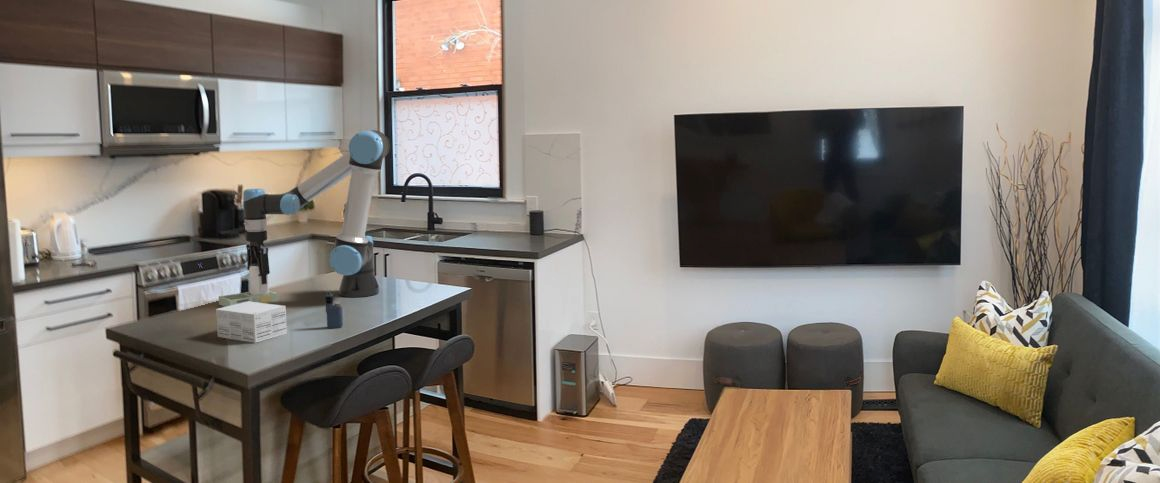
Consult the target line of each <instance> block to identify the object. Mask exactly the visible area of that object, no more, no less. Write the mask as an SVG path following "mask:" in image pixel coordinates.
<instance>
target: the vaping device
mask: <svg viewBox="0 0 1160 483" xmlns="http://www.w3.org/2000/svg"><path fill="white" fill-rule="evenodd" d="M324 295H325V297H324V298H325V313H326V328H327V329H342V328H343V324H344V323H343V307H342V305H341V302H334V295H333V293H331V291H327V294H324Z"/></svg>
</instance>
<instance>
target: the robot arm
mask: <svg viewBox="0 0 1160 483" xmlns="http://www.w3.org/2000/svg"><path fill="white" fill-rule="evenodd" d="M389 151H390V141H389V138H388V137H387V136H386V135H385V134H384V133H383V132H381V131H380V130H376V129H373V130H372V129H371V130H365V129H364V130H361V131H359V132H357V133H356V134H354V135H353V136H352V137H351V139H350V140H349V144H348V152H346V153H344V154H343V155H342V156H340V157H339V158H337V159H336V160H334V161H333V162H330V164H328V165H327V166H324V168H322V169H321V170H319V171H318V172H316V173H315V174H313V175H312V176H310V177H308V178H307V179H305V180H304V181H302V182H301V183H300V184H299V185H297V186H295V187H294V188H291V190H288V191H286V192H284V193H278V194H276V193H275V194H272V193H271V194H267V193H266V191H265V189H264V188H248V189H244V190H243V194H242V196H243V197H242V203H243V214H244V222H243V225H244V229H245V233H244V234H245V235H244V237H245V241H246V242H247V243H248V242H249V244H246V245H245V247H246V260H247V261H246V264H247V266H246V267H247V269H246V270H247V271H249V268H250V265H251V264H257V263H258V267H259V272H260V274H259V275H258V276H259V289H260V293H265V292H268V289H267V275H268V276H269V274H270V273H271V272H270V262H269V261H270V260H269V247H265V245H264V242H266V241H267V240H268V231H267V228H268V225H267V222H268V221H267V216H266V215H285V216H290V215H296V214H298V212H299V210H301V209H303V208H304V207H305V205H307V204H309V203H310V202H311V201H313V200H314V199H316V198H317V197H319V196H320V195H322V194H323V193H324V192H327V191H328V190H329V189H331V188H332V187H334V186H336V185H337V184H339V183H340V182H342V181H343V180H344V179H346V178H349V176H350V180H349V186H348V192H347V197H346V203H345V209H344V214H343V221H342V226H341V232H340V233H338V234H337V235H336V237H335V241H334V248H333V249H332V250H331V252H330V254H329V264H330V266H331V268H332V270H333V271H334V272H336V273H337V274H339V275H341V276H342V279H341V282H340V285H339V289H338V290H339V296H342V297H348V298H362V297H363V298H364V297H365V298H366V297H370V296H375V295H378V294H379V293H380V287H379V286H380V285H379V283H378V281H377V277H376V275H375V269H374V268H375V267H374V266H375V265H374V264H375V263H374V241H373V240H374V239H373V237H372V235H366V231H367V226H368V220H369V213H370V209H371V202H372V196H373V192H374V188H375V187H374V185H375V182H376V181H375V180H376V175H377V173H379V172H381V170H382V166H383V160H384V159H385V157H386V156H388V154H389Z"/></svg>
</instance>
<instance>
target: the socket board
mask: <svg viewBox="0 0 1160 483" xmlns="http://www.w3.org/2000/svg"><path fill="white" fill-rule="evenodd" d="M247 301H251V302H258V303H266V304H271V303H275V302H279V293H278V292H275V291H271V290H269V294H266V295H259V296H252V295H251V294H250V291H246V292H239V293H233V294H226V295H219V296H218V305H220V306H221V307H227V306H231V305H235V304H239V303H243V302H247Z"/></svg>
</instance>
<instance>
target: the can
mask: <svg viewBox="0 0 1160 483" xmlns="http://www.w3.org/2000/svg"><path fill="white" fill-rule="evenodd" d="M259 274H260V272H259V267H258V263H257V264H251V265H250V268H249V270H248V276H249V278H248V279H249V289H250V290H249V292H250V294H251V295H252V296H259V295H266V294H269V291H270V289H269V288H270V287H269V274H268V275H267V289H268V292H265V293H260V289H259V276H258V275H259Z"/></svg>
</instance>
